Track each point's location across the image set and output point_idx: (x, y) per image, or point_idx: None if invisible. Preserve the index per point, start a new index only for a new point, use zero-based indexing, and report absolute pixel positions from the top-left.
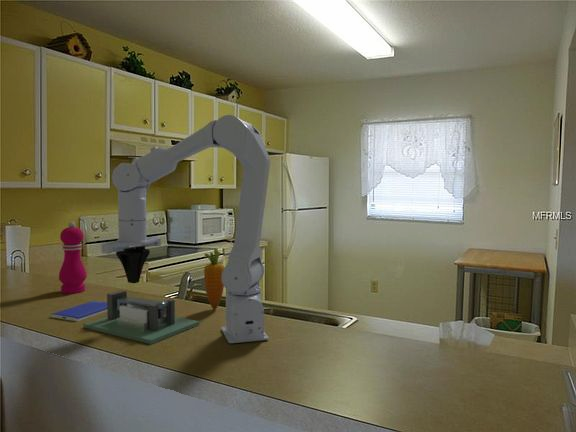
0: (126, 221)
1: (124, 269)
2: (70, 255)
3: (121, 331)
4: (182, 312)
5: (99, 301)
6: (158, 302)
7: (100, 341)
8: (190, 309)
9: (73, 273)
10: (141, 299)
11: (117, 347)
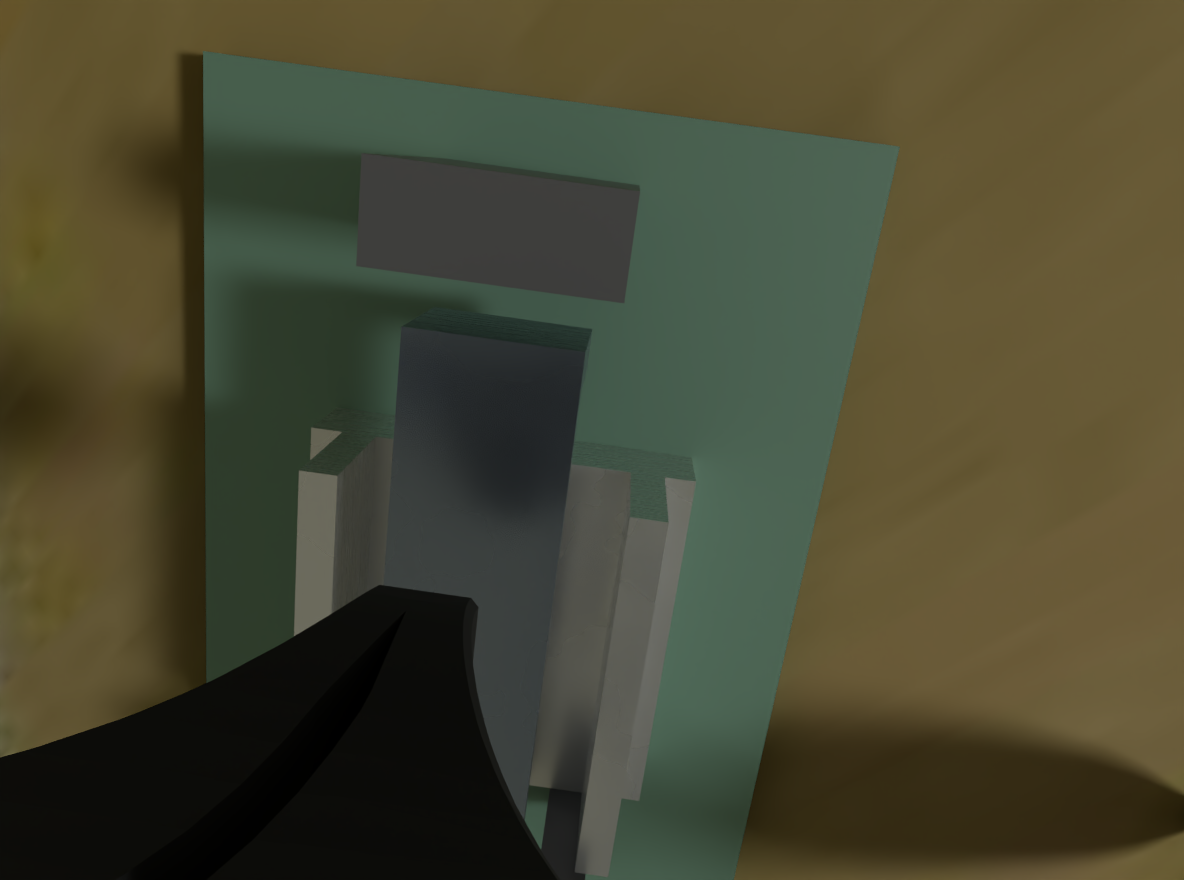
0: None
1: (235, 675)
2: None
3: (234, 553)
4: (1016, 614)
5: None
6: None
7: (70, 487)
8: (1141, 627)
9: None
10: (508, 625)
11: (60, 677)
